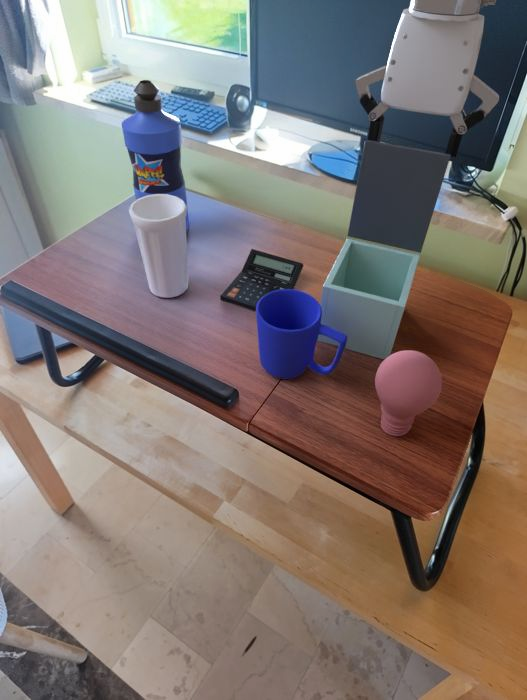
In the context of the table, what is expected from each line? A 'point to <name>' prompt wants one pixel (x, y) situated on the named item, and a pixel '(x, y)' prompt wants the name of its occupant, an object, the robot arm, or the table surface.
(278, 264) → the calculator
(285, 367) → the mug
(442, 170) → the lid
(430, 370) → the light bulb
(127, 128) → the blue bottle
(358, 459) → the table surface
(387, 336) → the mint green open box
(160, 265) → the cup
